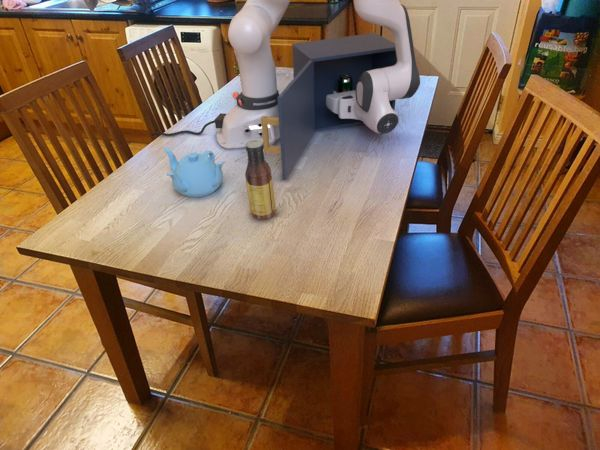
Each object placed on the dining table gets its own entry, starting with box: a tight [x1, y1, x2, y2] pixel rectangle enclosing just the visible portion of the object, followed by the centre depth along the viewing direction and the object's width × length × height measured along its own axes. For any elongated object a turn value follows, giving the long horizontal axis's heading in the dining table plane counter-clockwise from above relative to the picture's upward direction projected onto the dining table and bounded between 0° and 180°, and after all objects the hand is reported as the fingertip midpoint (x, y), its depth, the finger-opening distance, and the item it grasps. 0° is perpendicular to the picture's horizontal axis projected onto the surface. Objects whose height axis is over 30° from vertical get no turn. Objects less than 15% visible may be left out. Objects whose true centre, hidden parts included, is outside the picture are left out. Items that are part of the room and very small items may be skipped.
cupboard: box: [291, 32, 397, 133], centre depth 154 cm, size 18×30×24 cm, turn 108°
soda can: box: [338, 75, 353, 93], centre depth 159 cm, size 5×5×12 cm
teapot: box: [163, 147, 226, 198], centre depth 123 cm, size 15×15×10 cm
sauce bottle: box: [244, 139, 276, 221], centre depth 109 cm, size 7×6×20 cm
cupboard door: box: [261, 60, 315, 181], centre depth 132 cm, size 7×30×24 cm, turn 163°
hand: (347, 90), depth 156 cm, fingers open, 8 cm apart
